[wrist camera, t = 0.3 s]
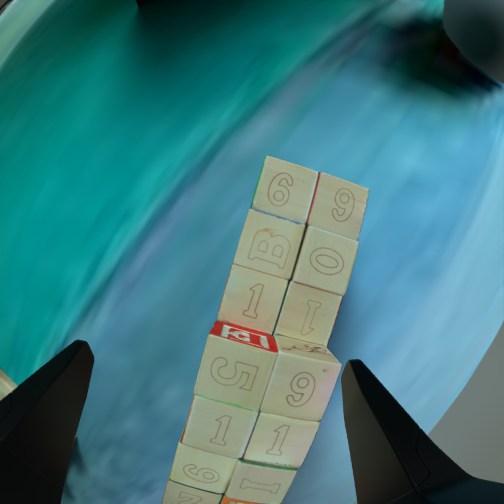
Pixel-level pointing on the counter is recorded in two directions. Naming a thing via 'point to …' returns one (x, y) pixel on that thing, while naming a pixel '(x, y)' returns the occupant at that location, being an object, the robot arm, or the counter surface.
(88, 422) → the counter surface
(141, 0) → the protein powder
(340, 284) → the stack of blocks
